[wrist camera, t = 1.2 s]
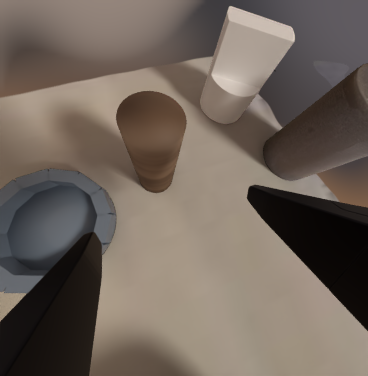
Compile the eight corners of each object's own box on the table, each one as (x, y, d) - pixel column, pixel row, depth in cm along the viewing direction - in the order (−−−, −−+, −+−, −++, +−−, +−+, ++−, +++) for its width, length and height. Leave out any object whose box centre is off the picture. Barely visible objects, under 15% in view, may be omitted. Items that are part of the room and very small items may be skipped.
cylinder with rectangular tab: (242, 94, 31) (291, 14, 19) (242, 128, 28) (298, 59, 17) (201, 83, 30) (228, -9, 18) (197, 118, 27) (226, 36, 15)
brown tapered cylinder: (170, 194, 22) (184, 153, 10) (137, 190, 21) (109, 142, 9) (173, 164, 23) (188, 98, 11) (142, 160, 23) (123, 85, 11)
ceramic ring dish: (104, 283, 17) (94, 293, 15) (-22, 281, 16) (-59, 292, 13) (124, 183, 21) (119, 176, 19) (24, 172, 19) (2, 163, 17)
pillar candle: (266, 129, 29) (370, 33, 15) (309, 147, 29) (448, 71, 15) (258, 170, 26) (377, 100, 12) (305, 189, 27) (475, 145, 12)
